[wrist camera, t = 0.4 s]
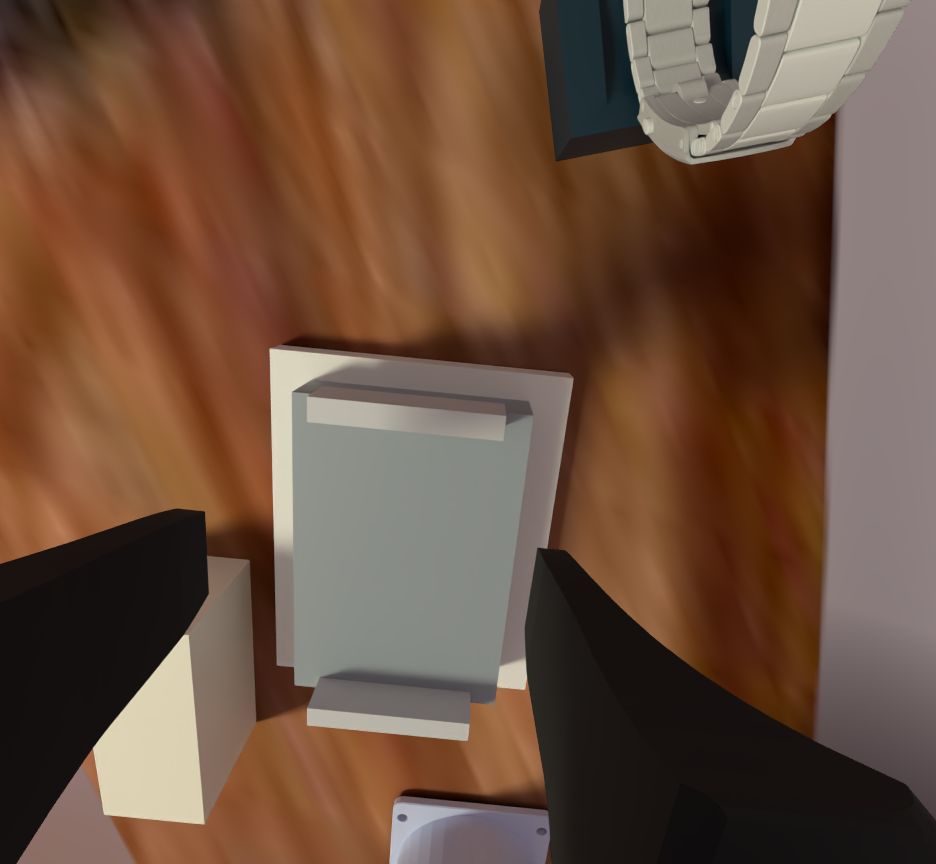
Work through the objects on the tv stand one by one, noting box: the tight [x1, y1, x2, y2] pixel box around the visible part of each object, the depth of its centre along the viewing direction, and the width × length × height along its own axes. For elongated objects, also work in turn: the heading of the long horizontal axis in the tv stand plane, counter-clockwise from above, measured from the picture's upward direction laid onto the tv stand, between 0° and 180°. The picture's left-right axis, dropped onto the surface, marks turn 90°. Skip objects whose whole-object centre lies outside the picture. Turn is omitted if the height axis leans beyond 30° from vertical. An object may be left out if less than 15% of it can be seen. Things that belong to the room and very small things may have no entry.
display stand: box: [270, 345, 574, 741], centre depth 19 cm, size 14×11×4 cm
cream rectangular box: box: [93, 556, 256, 824], centre depth 21 cm, size 9×4×5 cm, turn 175°
